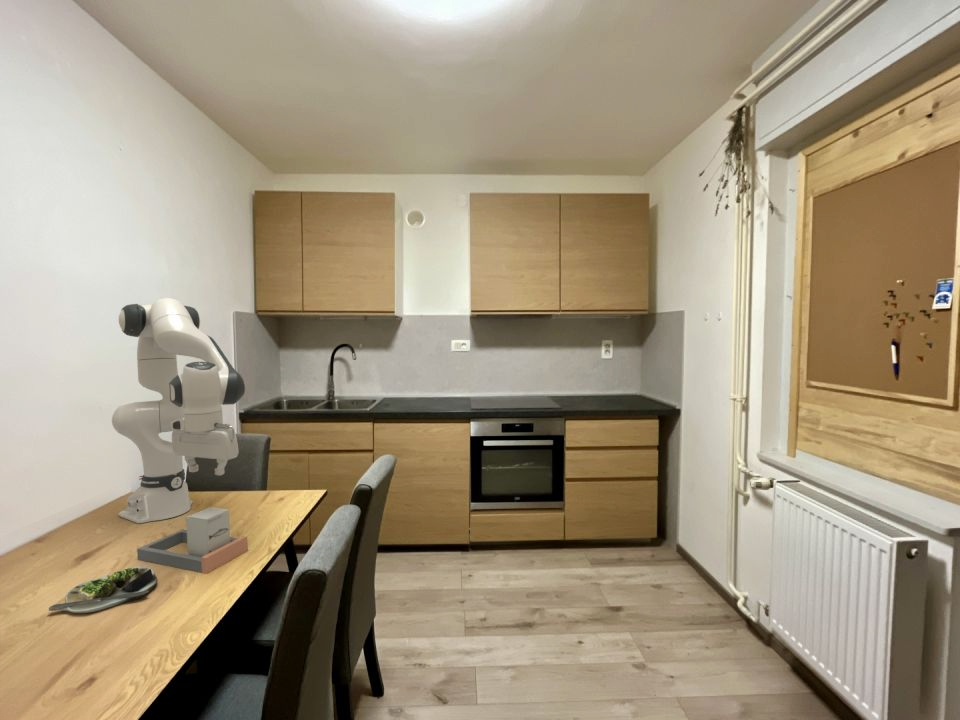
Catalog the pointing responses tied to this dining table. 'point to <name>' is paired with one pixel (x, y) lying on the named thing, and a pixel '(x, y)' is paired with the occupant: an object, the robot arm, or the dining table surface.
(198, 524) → the supplement box
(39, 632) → the dining table surface
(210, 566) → the bay
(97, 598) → the salad plate
